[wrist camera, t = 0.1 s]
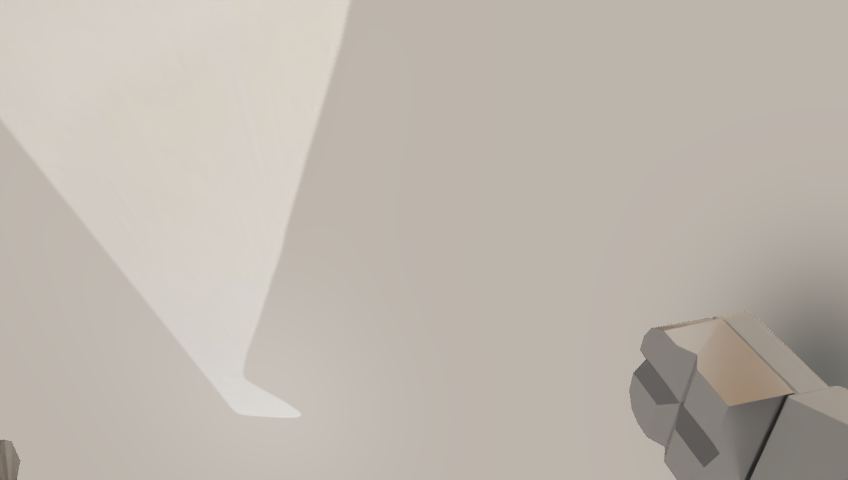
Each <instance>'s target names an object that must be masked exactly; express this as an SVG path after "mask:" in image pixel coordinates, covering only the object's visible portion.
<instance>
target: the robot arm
mask: <svg viewBox="0 0 848 480" xmlns="http://www.w3.org/2000/svg"><path fill="white" fill-rule="evenodd" d="M640 350H641V352H642V353H643V355H644V357H645V358H646V360H645V361H644V362H643V363H642V364H641V366H639V368H638V369H637V370H636V371H635V372H634V373H633V377H632V381H631V386H630V398H631V406H632V410H633V413H634V415H635V418H636V420H637V422H638V424H639V425H640V427H641V429H642V430H643V432H644V433H645V435H646V436H647V437H648V438H650V439H652V440H654V441H655V442H657V443H659V444H661V445H662V446H664V447H665V459H664V462H665V463H666V465H667V466H668V468H669V469H670V470H671V472H672V473H673V475H674V476H675V477H676V479H677V480H848V390H847V389H845V388H843V387H840V386H833V387H828V386H827V385H826V384H825V383H824V382H823V381H822V380H821V379H820V378H819V377H818V376H817V375H816V374H815V373H814V372H813V371H812V370H811V369H810V368H809V367H807V365H806V364H805V363H803V361H801V360H800V359H799V358H798V357H797V356H796V355H795V354H794V353H793V352H792V351H791V350H790V349H789V348H788V347H787V346H786V345H785V344H784V343H783V342H782V341H781V340H779V338H778V337H777V336H776V335H775V334H774V333H772V332H771V331H770V330H769V329H768V328H767V327H766V326H765V325H764V324H763V323H762V322H761V321H760V320H759V319H758V318H757V317H756V316H754V315H752V314H750V313H747V312H745V311H743V312H738V313H732V314H727V315H721V316H716V317H713V318H704V319H699V320H693V321H688V322H682V323H677V324H672V325H667V326H661V327H656V328H651V329H650V330H649V331H648V332H647V334H646V335H645V336H644V339H643V342H642V345H641V348H640ZM19 464H20V459H19V457H18V455H17V453H16V450H15V448H14V446H13V444H12V442H11V441H7V440H0V480H17V476H18V470H19Z"/></svg>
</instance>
